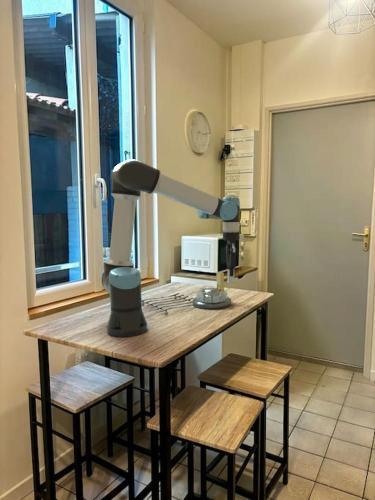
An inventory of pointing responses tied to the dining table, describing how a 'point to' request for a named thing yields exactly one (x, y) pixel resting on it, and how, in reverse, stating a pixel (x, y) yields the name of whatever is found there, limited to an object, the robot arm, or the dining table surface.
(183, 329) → the dining table surface
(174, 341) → the dining table surface
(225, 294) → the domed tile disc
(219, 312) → the dining table surface
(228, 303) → the housing
